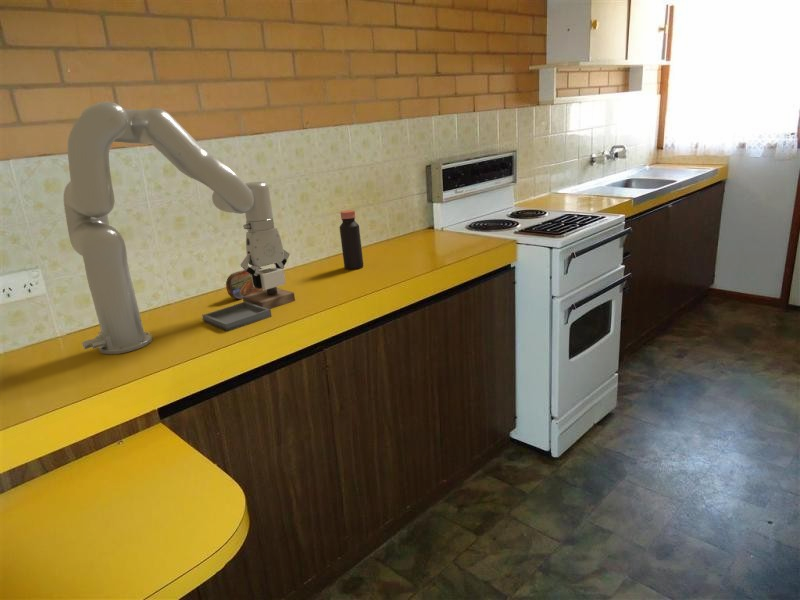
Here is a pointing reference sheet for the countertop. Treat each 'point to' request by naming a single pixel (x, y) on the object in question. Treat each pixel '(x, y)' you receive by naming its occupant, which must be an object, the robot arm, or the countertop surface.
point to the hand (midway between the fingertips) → (269, 284)
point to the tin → (240, 284)
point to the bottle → (350, 241)
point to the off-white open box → (271, 277)
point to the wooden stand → (270, 298)
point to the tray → (236, 316)
